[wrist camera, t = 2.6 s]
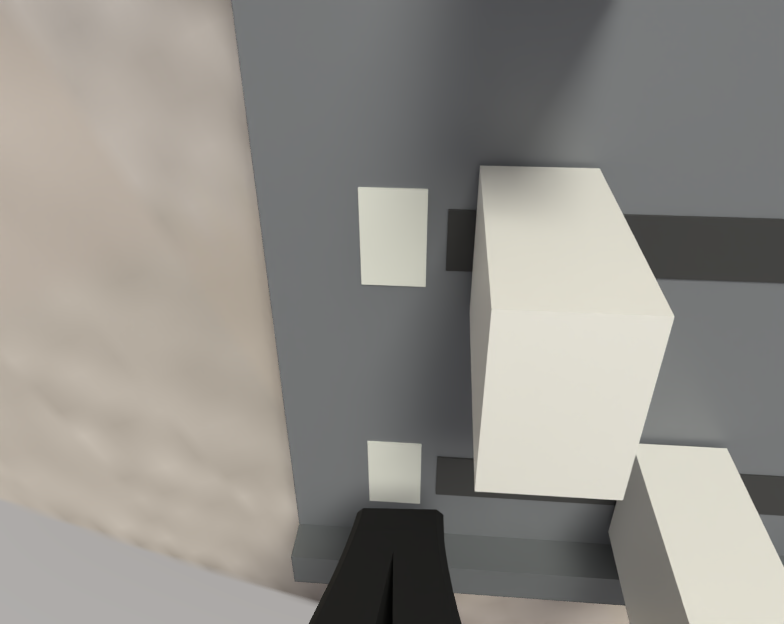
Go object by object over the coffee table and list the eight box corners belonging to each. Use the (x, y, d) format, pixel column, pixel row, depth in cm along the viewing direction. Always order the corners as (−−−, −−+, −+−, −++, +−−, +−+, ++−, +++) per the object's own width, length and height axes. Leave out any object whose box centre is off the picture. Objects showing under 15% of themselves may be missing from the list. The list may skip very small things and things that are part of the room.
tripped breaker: (727, 448, 11) (824, 652, 8) (692, 537, 13) (766, 742, 10) (632, 443, 11) (695, 643, 8) (608, 531, 13) (655, 732, 10)
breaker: (600, 167, 9) (674, 316, 6) (573, 316, 10) (622, 499, 7) (479, 165, 9) (491, 309, 6) (469, 312, 10) (474, 491, 7)
